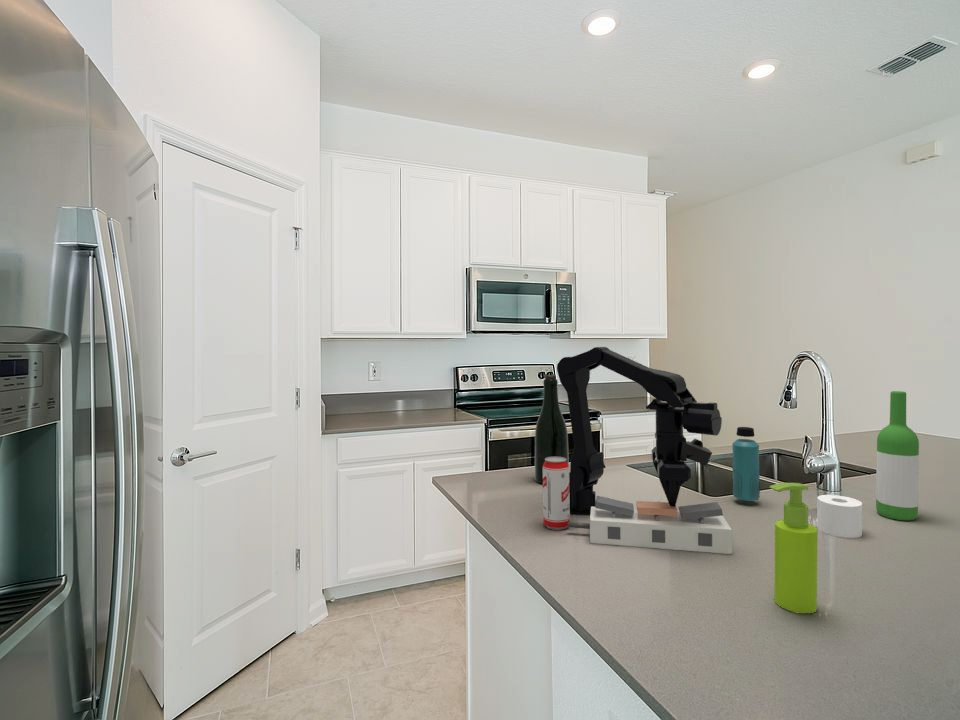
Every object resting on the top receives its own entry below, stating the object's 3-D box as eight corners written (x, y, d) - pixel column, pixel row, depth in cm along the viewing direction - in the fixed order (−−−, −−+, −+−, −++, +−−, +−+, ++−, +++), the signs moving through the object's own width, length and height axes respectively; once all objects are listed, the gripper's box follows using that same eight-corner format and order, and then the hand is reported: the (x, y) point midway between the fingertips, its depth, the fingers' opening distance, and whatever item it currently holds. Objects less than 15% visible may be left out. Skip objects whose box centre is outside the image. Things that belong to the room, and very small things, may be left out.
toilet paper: (835, 519, 120) (835, 490, 119) (871, 537, 108) (871, 506, 108) (800, 519, 120) (800, 491, 119) (833, 538, 109) (833, 506, 108)
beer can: (572, 522, 121) (571, 456, 120) (567, 532, 115) (566, 463, 114) (546, 520, 123) (545, 455, 122) (540, 529, 117) (539, 461, 116)
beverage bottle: (763, 507, 129) (764, 429, 128) (735, 506, 130) (735, 429, 129) (755, 499, 135) (755, 425, 134) (728, 498, 136) (728, 425, 135)
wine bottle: (911, 512, 123) (913, 390, 121) (923, 523, 116) (925, 394, 114) (871, 508, 126) (873, 389, 125) (881, 519, 119) (883, 393, 118)
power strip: (566, 541, 110) (566, 514, 109) (569, 526, 118) (569, 501, 118) (731, 554, 102) (731, 525, 101) (721, 536, 110) (721, 510, 110)
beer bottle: (545, 474, 163) (543, 373, 162) (574, 479, 157) (573, 374, 156) (528, 482, 155) (527, 375, 153) (559, 488, 148) (558, 376, 147)
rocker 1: (595, 507, 110) (596, 501, 110) (595, 501, 114) (596, 495, 114) (632, 516, 108) (634, 510, 108) (631, 509, 113) (632, 503, 112)
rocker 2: (637, 513, 108) (637, 507, 108) (636, 507, 112) (636, 500, 112) (677, 516, 106) (677, 509, 106) (674, 509, 110) (674, 502, 110)
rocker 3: (682, 520, 106) (681, 513, 106) (679, 512, 110) (678, 506, 110) (723, 515, 104) (721, 508, 104) (718, 508, 108) (717, 501, 108)
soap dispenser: (760, 596, 85) (761, 480, 84) (799, 594, 86) (800, 478, 85) (784, 615, 79) (785, 490, 78) (825, 613, 80) (827, 488, 79)
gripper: (717, 439, 101) (717, 516, 102) (700, 424, 119) (700, 489, 120) (658, 438, 104) (659, 512, 104) (651, 423, 122) (651, 486, 122)
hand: (669, 499), depth 113 cm, fingers open, 9 cm apart
